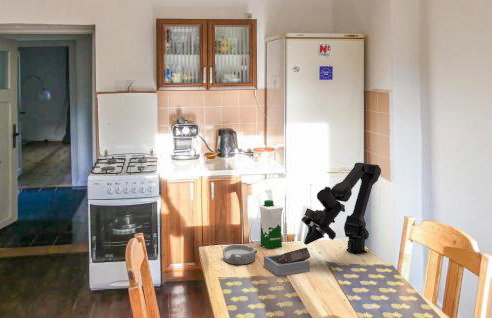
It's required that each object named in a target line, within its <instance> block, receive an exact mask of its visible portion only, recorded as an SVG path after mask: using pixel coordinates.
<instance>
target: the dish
mask: <svg viewBox="0 0 492 318" xmlns="http://www.w3.org/2000/svg"><path fill="white" fill-rule="evenodd" d="M257 253H258V249H257V248H255V247H254V246H249V245H248V244H242V243H235V244H234V243H233V244H228V245H227V246H224V247H223V249H222V256H223V259H224V261H225V262H226V263H228V264H232V265H238V266H239V265H248V264H250V263H253V262H254V261H255V259H256V254H257Z"/></svg>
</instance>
